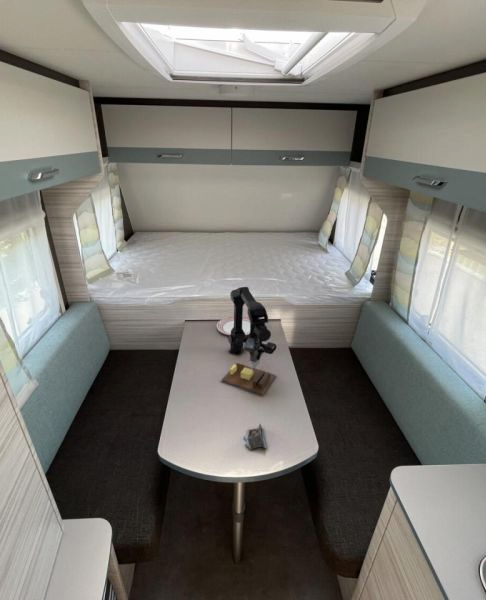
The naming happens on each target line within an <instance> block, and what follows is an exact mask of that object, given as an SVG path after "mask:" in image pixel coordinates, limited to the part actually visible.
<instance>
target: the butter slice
mask: <svg viewBox="0 0 486 600" xmlns="http://www.w3.org/2000/svg"><path fill="white" fill-rule="evenodd" d="M236 370H237V365H236V363H234V364H233V365H232V366H230V367H229V371H230V374H232V375H233V374H234V373H235V371H236Z"/></svg>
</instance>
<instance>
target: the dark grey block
mask: <svg viewBox="0 0 486 600" xmlns="http://www.w3.org/2000/svg"><path fill="white" fill-rule="evenodd" d="M249 362H251V366H250V367H251V371H253V370H254V369H257V367H258V366H259V364H260V360H259V361H258V352H257V351H255V352H254V353H252V354H251V355H250V354H249Z"/></svg>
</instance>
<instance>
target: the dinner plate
mask: <svg viewBox="0 0 486 600" xmlns="http://www.w3.org/2000/svg"><path fill="white" fill-rule="evenodd" d="M233 327H234V315H230V316H226V317H224V318H222V319H220V320H219V321H217V324H216V329H217V330H218V331H219V332H220V333H222V334H224V335H227V336H230V333H231V330H232V328H233ZM242 329H243V331H244V333H245V335H246V336H249V334H250V320H249V317H248V315H243V318H242Z"/></svg>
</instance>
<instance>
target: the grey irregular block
mask: <svg viewBox="0 0 486 600" xmlns="http://www.w3.org/2000/svg"><path fill="white" fill-rule="evenodd" d="M244 438H245V444H246V446H247V447H248V448H249V450H252V449H257V448H261V447H263V449H267V446H266V442H265V437H264V431H263V428H262V424H261V423H259V425H258V427H256V428H253V429H249V430H248V432H246V433H245V436H244Z"/></svg>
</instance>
